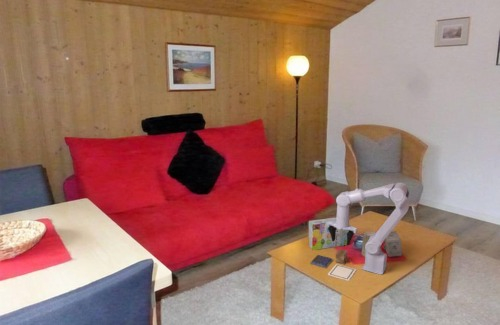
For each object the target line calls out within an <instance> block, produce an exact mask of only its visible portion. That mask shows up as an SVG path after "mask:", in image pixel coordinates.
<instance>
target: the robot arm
mask: <svg viewBox="0 0 500 325" xmlns="http://www.w3.org/2000/svg"><path fill="white" fill-rule="evenodd" d="M381 196H384V197H385V198H387V199H389V198H390V200H391V201H392V202H393V204H394V206H395V208H394V210H393V211H392V212H391V214H389V216H388V217H387V218H386V220H385V221H384V222H383V224H381V226H380V228H379V229H378V230H377V231H375V232H376V233H375V234H373V235H371V236H370V238H369V240H368V242H367V243H366V245H365V249H366V252H365V256H364V265H363V266H362V267H361V270H362V271H365V272H366V271H367V272H370V273H374V274H378V275H380V276H381V275H384V272H385V271H386V269H387V260H388V259H387V258H388V253H384V252H383V250H382V248H381V247H382V245H383V243H384V242H385V238H386V237H387V236H388V235H389V234H390V232H391V231H394V228H396V227H397V225H398V224H399V222H400V221H401V220H402V219H403V218H404V216H405V215H406V214H407V212H408V211H409V209H410V191H409V188H408V186H407V184H405V183H403V182H397V183H389V184H386V185H382V186H378V187H375V188H370V189H367V190H364V189H363V188H358V187H357V188H355V190H350V191H349V190H346V191H342V192H340V193H339V195H337V197H336V200H335V201H336V204H337V206H336V217H335V218H336V222H331V221H328V222H327V226H329V228H328V230H329V232H330V234H331V238H332V241H334V240H335V233H336V228H337V229H339V230H341V229H343V230H347V231H349V232H348V233H347V245H346V246H349V245H350V244H351V241H352V239H353V236H354V235H355V234H356V233H357V232H358V228H357V227H354V226H352V225H350V224H349V225H348V220H349V221H350V219H349V217H350V204H356V203H362V202H365V201H366V199H367V198H374V197H381Z"/></svg>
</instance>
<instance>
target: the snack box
mask: <svg viewBox="0 0 500 325" xmlns="http://www.w3.org/2000/svg"><path fill="white" fill-rule="evenodd" d="M328 221H331V222H336V217H328V218H322V219H321V218H320V219H314V220H308V247H309V249H311V250H312V251H316V250H323V249H330V248H336V247H337V248H338V247H344V245H345V246H348V245H347V233H348V232H349V231H347V230H343V229H341V230H339V229H337V228H336V233H335V240H334V241H332V238H331V234H330V232H329V230H328V228H329V226H327V222H328ZM348 225H350V219H349V220H348Z"/></svg>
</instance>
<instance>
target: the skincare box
mask: <svg viewBox="0 0 500 325" xmlns="http://www.w3.org/2000/svg"><path fill="white" fill-rule="evenodd" d="M376 232H377V231H374V230H372V231H365V232H362V242H361V243H362V244H361V255H362V256H363V257H365V252H366V249H365V245H366V243H367V242H368V240H369V238H370V236H371V235H373V234H375V233H376Z"/></svg>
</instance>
